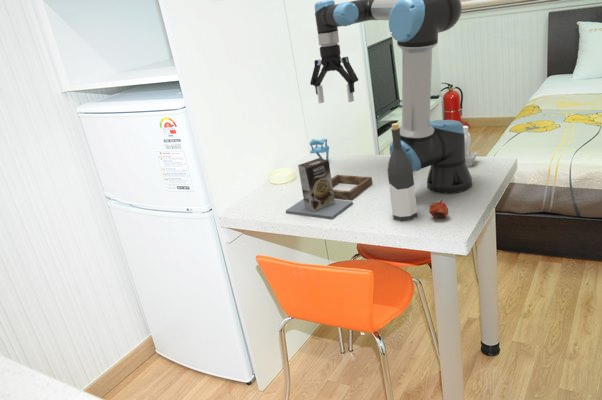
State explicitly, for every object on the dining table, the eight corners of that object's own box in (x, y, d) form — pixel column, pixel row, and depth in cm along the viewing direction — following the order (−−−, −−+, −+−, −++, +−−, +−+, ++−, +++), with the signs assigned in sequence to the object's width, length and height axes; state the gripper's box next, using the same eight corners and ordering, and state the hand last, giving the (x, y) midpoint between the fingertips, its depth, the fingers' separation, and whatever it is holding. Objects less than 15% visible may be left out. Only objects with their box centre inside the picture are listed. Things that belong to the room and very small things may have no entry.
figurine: (478, 160, 197) (476, 122, 192) (473, 168, 190) (470, 129, 185) (459, 160, 201) (457, 123, 196) (453, 168, 194) (450, 130, 189)
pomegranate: (447, 227, 153) (455, 205, 156) (438, 218, 150) (446, 196, 152) (430, 225, 158) (439, 204, 160) (422, 216, 154) (430, 195, 157)
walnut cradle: (372, 184, 193) (371, 177, 192) (351, 200, 182) (350, 192, 181) (338, 181, 202) (337, 174, 201) (316, 196, 191) (315, 189, 190)
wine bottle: (422, 216, 159) (413, 123, 148) (399, 223, 157) (388, 129, 147) (410, 208, 166) (401, 118, 156) (387, 215, 165) (376, 124, 154)
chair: (333, 160, 229) (329, 134, 225) (326, 167, 222) (322, 140, 218) (317, 161, 233) (313, 135, 228) (310, 167, 226) (306, 141, 221)
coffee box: (314, 212, 175) (306, 168, 169) (304, 208, 180) (296, 164, 174) (336, 203, 179) (329, 160, 173) (325, 199, 184) (318, 157, 178)
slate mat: (353, 204, 178) (352, 201, 178) (332, 219, 169) (332, 216, 169) (307, 199, 191) (306, 196, 190) (286, 213, 181) (285, 210, 181)
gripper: (363, 40, 185) (369, 99, 192) (308, 47, 200) (315, 101, 207) (352, 42, 180) (359, 102, 186) (296, 49, 195) (304, 105, 201)
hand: (336, 102), depth 197 cm, fingers open, 13 cm apart
